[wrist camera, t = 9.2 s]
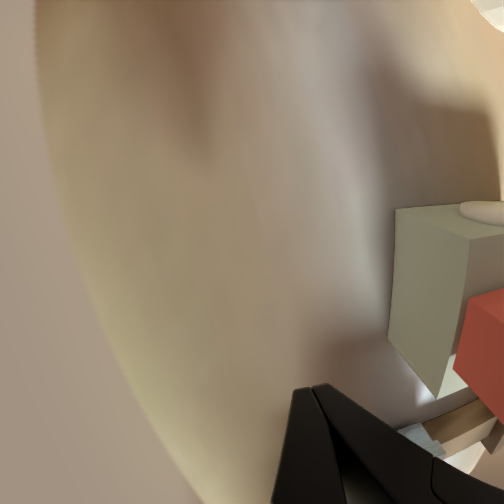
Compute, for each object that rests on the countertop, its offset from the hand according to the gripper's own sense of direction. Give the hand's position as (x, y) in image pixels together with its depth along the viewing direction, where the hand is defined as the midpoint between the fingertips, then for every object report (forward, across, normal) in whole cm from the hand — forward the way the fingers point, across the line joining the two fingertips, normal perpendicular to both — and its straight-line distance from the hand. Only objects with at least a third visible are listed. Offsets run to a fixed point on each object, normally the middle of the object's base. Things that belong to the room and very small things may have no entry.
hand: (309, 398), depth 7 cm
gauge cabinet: (+6, -9, 0) cm, 10 cm away
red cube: (+1, -6, 0) cm, 7 cm away
